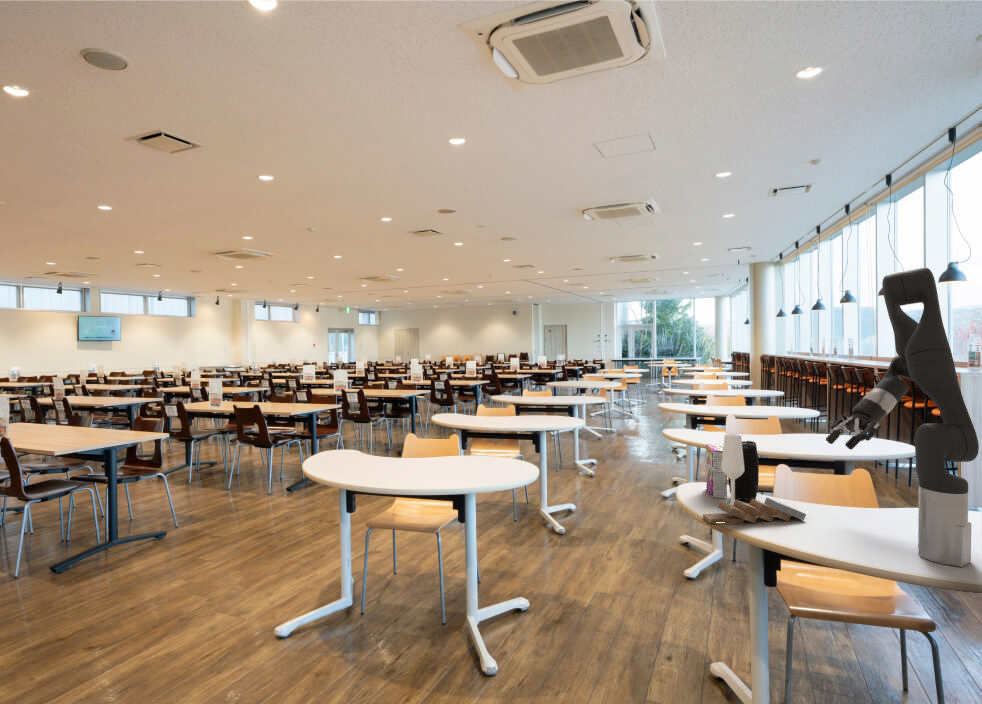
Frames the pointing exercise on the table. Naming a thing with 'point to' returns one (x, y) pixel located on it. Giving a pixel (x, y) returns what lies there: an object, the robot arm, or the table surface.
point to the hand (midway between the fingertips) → (837, 444)
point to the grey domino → (785, 508)
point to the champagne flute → (732, 460)
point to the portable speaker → (748, 473)
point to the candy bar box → (715, 471)
